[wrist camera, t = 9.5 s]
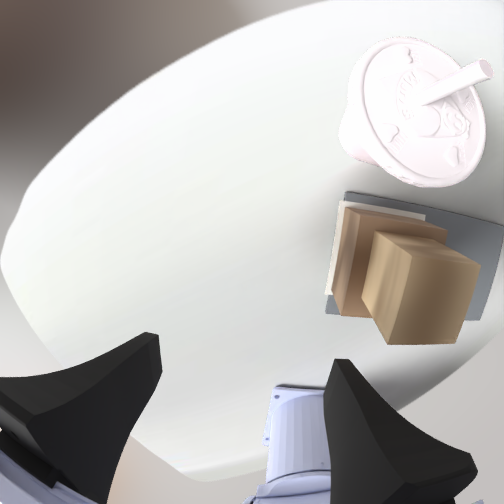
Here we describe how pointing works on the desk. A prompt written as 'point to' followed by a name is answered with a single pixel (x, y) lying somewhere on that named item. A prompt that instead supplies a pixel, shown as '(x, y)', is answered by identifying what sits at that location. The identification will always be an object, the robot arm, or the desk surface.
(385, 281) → the oak block
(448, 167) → the smoothie
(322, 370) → the desk surface
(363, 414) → the robot arm
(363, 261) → the walnut block
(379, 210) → the slate mat
